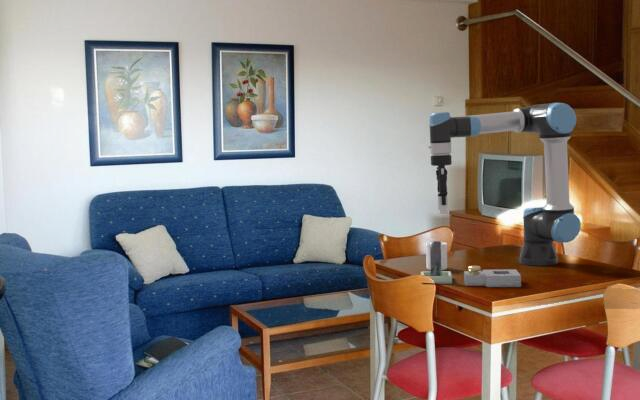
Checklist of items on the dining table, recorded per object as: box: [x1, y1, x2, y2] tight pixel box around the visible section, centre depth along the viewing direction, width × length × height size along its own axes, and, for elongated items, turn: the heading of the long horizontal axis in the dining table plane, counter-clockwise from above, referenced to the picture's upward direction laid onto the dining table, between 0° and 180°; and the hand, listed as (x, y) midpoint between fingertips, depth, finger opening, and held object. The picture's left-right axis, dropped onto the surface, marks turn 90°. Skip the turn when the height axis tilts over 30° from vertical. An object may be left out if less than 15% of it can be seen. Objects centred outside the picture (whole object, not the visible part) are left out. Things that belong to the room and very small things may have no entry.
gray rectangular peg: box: [429, 240, 442, 276], centre depth 282 cm, size 4×4×14 cm
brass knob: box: [467, 265, 482, 274], centre depth 275 cm, size 4×4×5 cm
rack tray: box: [420, 270, 453, 285], centre depth 283 cm, size 11×11×2 cm
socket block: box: [463, 268, 522, 288], centre depth 275 cm, size 19×12×4 cm, turn 84°
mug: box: [425, 241, 448, 271], centre depth 305 cm, size 12×8×10 cm
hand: (442, 211), depth 283 cm, fingers open, 13 cm apart
